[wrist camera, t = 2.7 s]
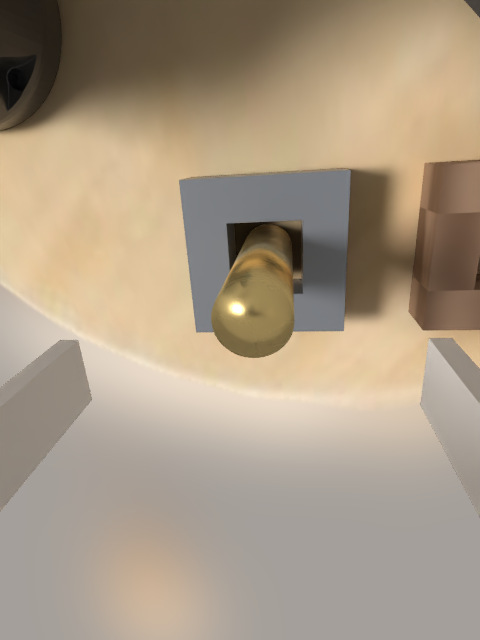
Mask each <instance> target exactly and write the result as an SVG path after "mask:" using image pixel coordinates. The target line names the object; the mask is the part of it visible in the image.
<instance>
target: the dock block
mask: <svg viewBox="0 0 480 640" xmlns="http://www.w3.org/2000/svg"><path fill="white" fill-rule="evenodd" d="M479 258H480V160H468V161H452V162H435V163H425V167H424V176H423V185H422V195H421V204H420V213H419V222H418V231H417V240H416V249H415V258H414V267H413V276H412V285H411V295H410V304H409V313H410V314H411V315H412V317H413V318H414V319H415V320H416V322H417V323H418V324H419V326H420V327H421V328H422V330H480V274H477V269H478V264H479Z"/></svg>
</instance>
